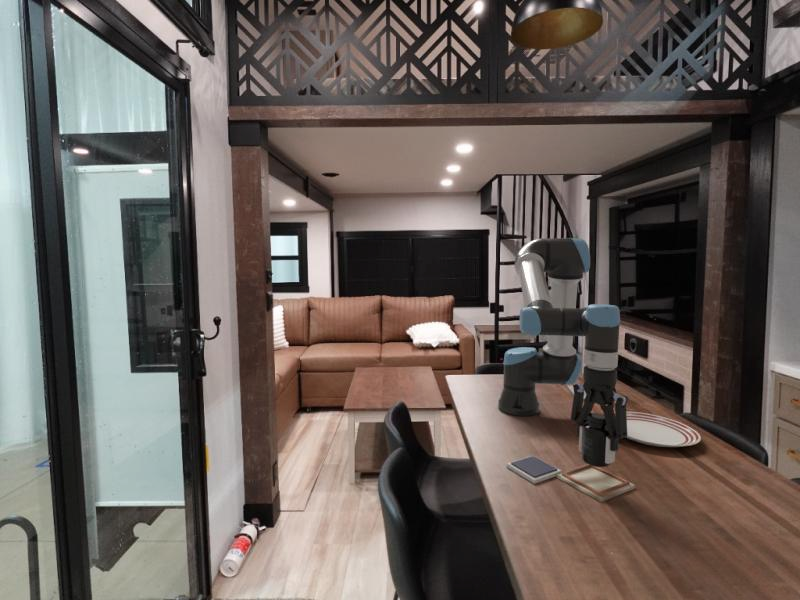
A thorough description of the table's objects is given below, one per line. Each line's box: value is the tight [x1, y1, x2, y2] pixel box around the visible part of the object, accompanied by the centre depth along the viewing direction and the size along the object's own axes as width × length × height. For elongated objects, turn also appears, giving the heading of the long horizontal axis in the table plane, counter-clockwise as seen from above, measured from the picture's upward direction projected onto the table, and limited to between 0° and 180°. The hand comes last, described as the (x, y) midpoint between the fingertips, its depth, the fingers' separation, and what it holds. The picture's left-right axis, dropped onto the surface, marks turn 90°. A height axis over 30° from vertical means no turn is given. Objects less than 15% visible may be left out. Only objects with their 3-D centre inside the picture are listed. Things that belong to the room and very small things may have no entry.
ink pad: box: [506, 455, 563, 485], centre depth 113 cm, size 10×10×1 cm
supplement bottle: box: [581, 412, 611, 468], centre depth 106 cm, size 7×7×12 cm
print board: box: [556, 463, 636, 503], centre depth 107 cm, size 13×13×1 cm
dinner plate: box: [614, 411, 702, 448], centre depth 137 cm, size 27×27×3 cm
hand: (596, 455), depth 107 cm, fingers closed on supplement bottle, 7 cm apart
